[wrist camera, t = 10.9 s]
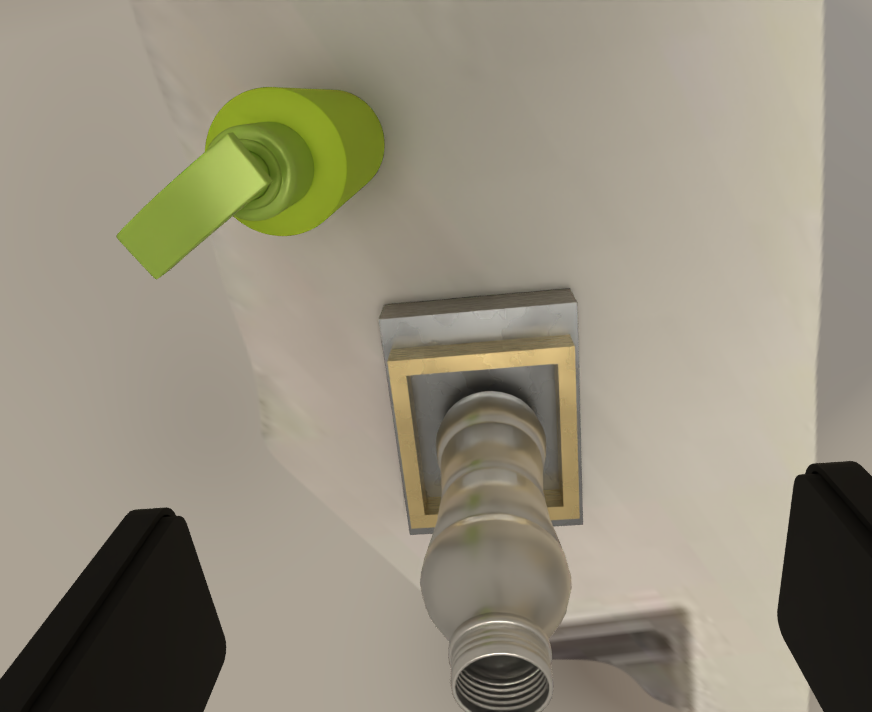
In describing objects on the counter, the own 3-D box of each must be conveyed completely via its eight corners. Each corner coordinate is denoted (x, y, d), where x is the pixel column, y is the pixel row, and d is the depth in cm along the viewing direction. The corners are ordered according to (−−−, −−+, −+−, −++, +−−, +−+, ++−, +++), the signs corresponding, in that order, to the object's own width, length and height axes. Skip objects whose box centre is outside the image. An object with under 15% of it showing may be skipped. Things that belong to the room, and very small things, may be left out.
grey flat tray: (384, 304, 42) (374, 330, 38) (569, 288, 41) (583, 312, 37) (413, 509, 48) (407, 553, 43) (575, 499, 47) (588, 543, 42)
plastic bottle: (539, 468, 43) (590, 755, 24) (437, 466, 43) (410, 747, 25) (544, 380, 40) (606, 623, 22) (436, 378, 41) (407, 616, 22)
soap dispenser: (254, 144, 39) (59, 188, 20) (340, 67, 37) (214, 39, 18) (318, 222, 40) (192, 330, 22) (404, 153, 39) (347, 205, 20)
